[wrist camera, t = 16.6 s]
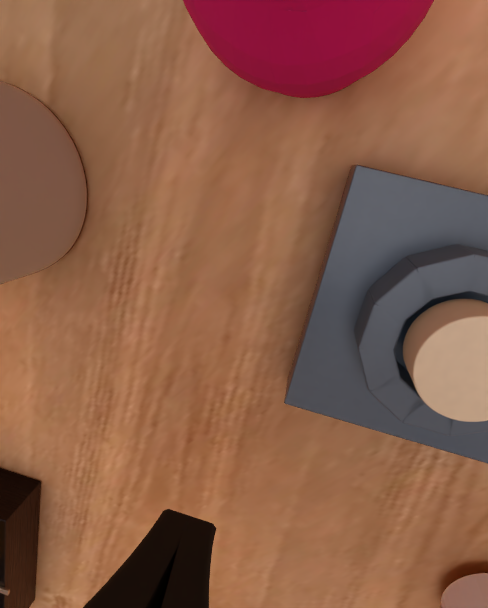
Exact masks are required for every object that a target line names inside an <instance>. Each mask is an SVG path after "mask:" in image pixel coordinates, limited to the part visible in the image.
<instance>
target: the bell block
mask: <svg viewBox="0 0 488 608" xmlns="http://www.w3.org/2000/svg"><path fill="white" fill-rule="evenodd" d="M453 299H475V300H480V301H483V302H486V303H488V195H484V194H479V193H475V192H471V191H467V190H462V189H458V188H454V187H450V186H445V185H441V184H437V183H432V182H428V181H424V180H420V179H415V178H411V177H407V176H403V175H398V174H394V173H390V172H385V171H381V170H377V169H373V168H368V167H364V166H360V165H352V166H351V170H350V173H349V176H348V180H347V183H346V186H345V190H344V193H343V196H342V200H341V203H340V206H339V210H338V213H337V216H336V220H335V223H334V226H333V230H332V233H331V236H330V240H329V243H328V246H327V250H326V253H325V256H324V260H323V263H322V267H321V270H320V273H319V277H318V280H317V283H316V287H315V290H314V293H313V297H312V300H311V303H310V307H309V310H308V313H307V317H306V320H305V323H304V327H303V330H302V333H301V337H300V340H299V343H298V347H297V350H296V353H295V357H294V360H293V363H292V367H291V370H290V373H289V377H288V381H287V388H286V394H285V401H284V403H285V404H288V405H292V406H295V407H298V408H302V409H305V410H308V411H312V412H315V413H319V414H322V415H325V416H329V417H332V418H336V419H339V420H342V421H346V422H349V423H353V424H356V425H359V426H363V427H366V428H370V429H373V430H376V431H380V432H383V433H387V434H390V435H393V436H397V437H400V438H403V439H407V440H410V441H414V442H417V443H420V444H424V445H427V446H431V447H434V448H437V449H441V450H444V451H448V452H451V453H454V454H458V455H461V456H465V457H468V458H471V459H475V460H478V461H482V462H485V463H488V420H487V421H480V422H465V421H458V420H454V419H451V418H448V417H445V416H443V415H441V414H439V413H437V412H436V411H434V410H432V409H431V408H430V407H429V406H428V405H426V403H425V402H424V401H423V400H422V399H421V397H420V396H419V394H418V393H417V390H416V388H415V386H414V384H413V381H412V379H411V377H410V374H409V372H408V370H407V367H406V365H405V362H404V358H403V343H404V339H405V335H406V333H407V331H408V329H409V327H410V326H411V324H412V323H413V322H414V320H415V319H416V318H417V317H418V316H419V315H420V314H422V313H423V312H424V311H426V310H427V309H429V308H430V307H432V306H434V305H436V304H439V303H441V302H445V301H448V300H453Z"/></svg>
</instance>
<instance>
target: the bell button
mask: <svg viewBox="0 0 488 608" xmlns="http://www.w3.org/2000/svg"><path fill="white" fill-rule="evenodd" d="M403 358H404V362H405V365H406V367H407V370H408V372H409V374H410V377H411V379H412V381H413V384H414V386H415V388H416V390H417V393H418V394H419V396H420V397H421V399H422V400H423V401H424V402H425V403H426V405H428V406H429V407H430V408H431V409H432V410H434V411H436V412H437V413H439V414H441V415H443V416H445V417H448V418H451V419H454V420H458V421H465V422H480V421H487V420H488V303H486V302H483V301H480V300H475V299H453V300H448V301H445V302H441V303H439V304H436V305H434V306H432V307H430V308H429V309H427V310H426V311H424V312H423V313H422V314H420V315H419V316H418V317H417V318H416V319H415V320H414V322H413V323H412V324H411V326H410V327H409V329H408V331H407V333H406V335H405V339H404V343H403Z"/></svg>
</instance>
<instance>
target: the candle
mask: <svg viewBox="0 0 488 608" xmlns="http://www.w3.org/2000/svg"><path fill="white" fill-rule="evenodd" d="M441 608H488V573H479V574H472V575H468V576H464V577H462V578H460V579H457V580H456V581H454V582H453V583H451V584H450V585H449V586H448V587H447V588H446V589H445V591H444V593H443V594H442V598H441Z"/></svg>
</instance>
